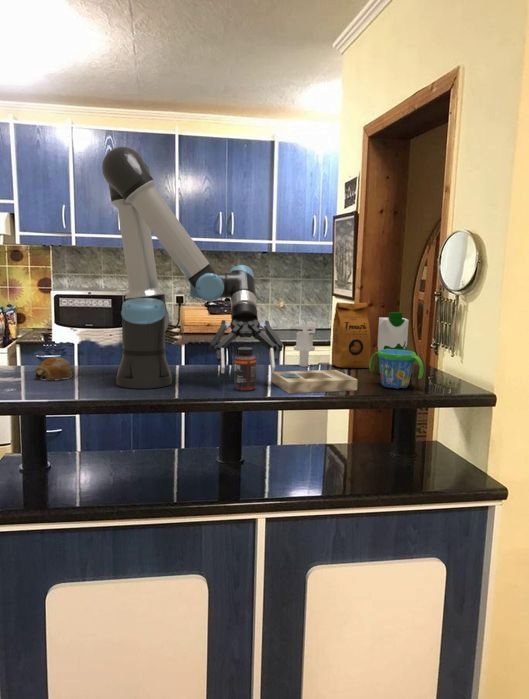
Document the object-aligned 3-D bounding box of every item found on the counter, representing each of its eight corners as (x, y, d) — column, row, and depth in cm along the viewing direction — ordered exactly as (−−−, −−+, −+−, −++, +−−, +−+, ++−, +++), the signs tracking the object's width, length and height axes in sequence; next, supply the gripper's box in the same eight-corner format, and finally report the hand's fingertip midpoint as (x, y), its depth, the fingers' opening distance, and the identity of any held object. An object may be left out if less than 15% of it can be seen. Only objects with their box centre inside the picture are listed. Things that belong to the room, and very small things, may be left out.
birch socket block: (288, 393, 152) (288, 381, 152) (271, 382, 166) (272, 370, 166) (357, 390, 158) (357, 378, 157) (335, 379, 172) (335, 368, 172)
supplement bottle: (257, 387, 159) (257, 346, 157) (254, 391, 153) (255, 349, 152) (235, 386, 160) (236, 346, 158) (232, 390, 154) (233, 349, 152)
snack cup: (428, 388, 163) (430, 353, 161) (410, 393, 155) (412, 356, 153) (380, 380, 173) (382, 346, 171) (361, 385, 165) (363, 350, 164)
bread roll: (69, 393, 163) (81, 367, 164) (33, 380, 158) (45, 353, 159) (64, 386, 172) (75, 361, 172) (30, 373, 167) (42, 348, 168)
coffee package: (372, 369, 190) (375, 303, 187) (336, 369, 189) (338, 303, 186) (363, 364, 200) (366, 301, 197) (328, 364, 199) (331, 301, 195)
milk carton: (380, 377, 178) (383, 312, 175) (373, 371, 187) (376, 310, 184) (408, 377, 178) (411, 313, 175) (400, 372, 187) (403, 311, 184)
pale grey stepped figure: (314, 367, 191) (316, 323, 189) (293, 367, 192) (295, 322, 189) (313, 364, 198) (314, 321, 196) (293, 363, 198) (294, 320, 196)
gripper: (284, 318, 172) (291, 377, 159) (200, 317, 168) (201, 378, 156) (287, 302, 166) (295, 362, 153) (201, 301, 162) (201, 362, 150)
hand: (248, 370), depth 154 cm, fingers open, 13 cm apart
